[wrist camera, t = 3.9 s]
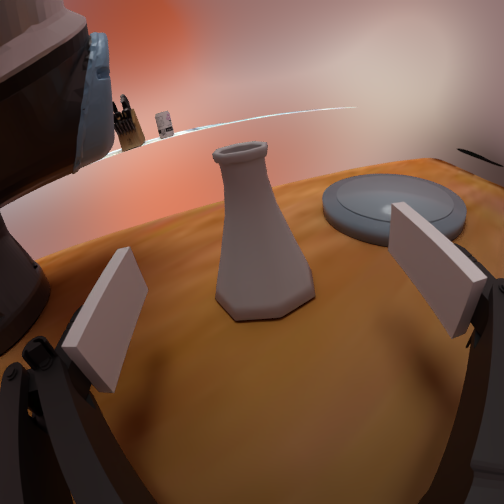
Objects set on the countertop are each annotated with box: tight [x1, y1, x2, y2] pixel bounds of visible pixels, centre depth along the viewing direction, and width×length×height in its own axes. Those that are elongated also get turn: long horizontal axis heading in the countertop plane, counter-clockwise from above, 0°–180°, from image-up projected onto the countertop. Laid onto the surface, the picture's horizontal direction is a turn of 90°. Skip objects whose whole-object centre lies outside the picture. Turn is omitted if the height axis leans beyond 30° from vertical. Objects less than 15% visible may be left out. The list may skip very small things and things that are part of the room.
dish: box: [322, 174, 466, 247], centre depth 27 cm, size 16×16×2 cm
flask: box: [212, 141, 315, 321], centre depth 18 cm, size 7×7×10 cm
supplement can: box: [155, 111, 174, 139], centre depth 143 cm, size 8×8×15 cm
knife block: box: [112, 94, 145, 152], centre depth 134 cm, size 11×35×31 cm, turn 15°
